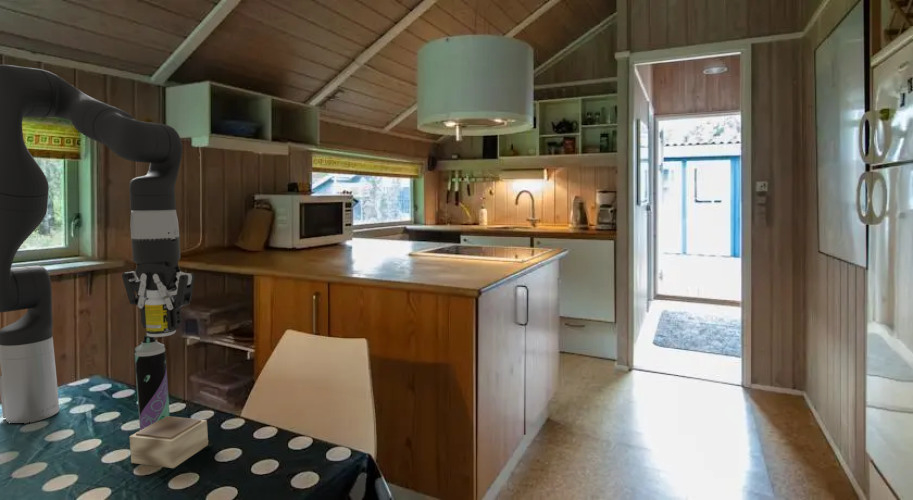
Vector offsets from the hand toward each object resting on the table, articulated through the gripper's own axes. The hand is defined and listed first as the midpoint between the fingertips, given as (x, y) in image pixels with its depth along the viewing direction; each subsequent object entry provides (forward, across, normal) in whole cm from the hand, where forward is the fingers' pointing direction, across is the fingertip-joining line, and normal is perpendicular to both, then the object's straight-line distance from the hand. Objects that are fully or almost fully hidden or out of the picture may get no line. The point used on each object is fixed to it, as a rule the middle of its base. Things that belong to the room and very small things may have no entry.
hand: (161, 327), depth 96 cm
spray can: (+24, -11, +8) cm, 28 cm away
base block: (+24, 0, 0) cm, 24 cm away
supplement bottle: (+1, 0, 0) cm, 1 cm away
